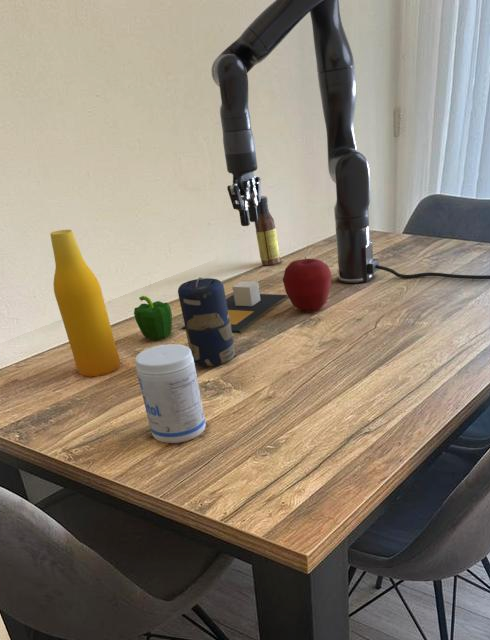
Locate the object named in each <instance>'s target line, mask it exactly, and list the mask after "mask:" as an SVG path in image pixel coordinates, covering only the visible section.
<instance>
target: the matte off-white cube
mask: <svg viewBox="0 0 490 640" xmlns="http://www.w3.org/2000/svg"><path fill="white" fill-rule="evenodd" d="M259 286H260V285H259V281H252V280H251V281H248V280H247V281H245V280H241V281H239V282H238V283H236V284H234V285H233V286H232V292H233V295H234V299H235V305H236V306H253V305H255V304H256V303H257V302H259V301H260V294H261V293H260V287H259Z"/></svg>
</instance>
